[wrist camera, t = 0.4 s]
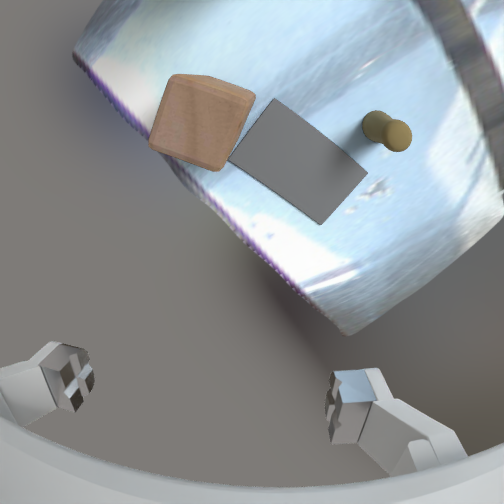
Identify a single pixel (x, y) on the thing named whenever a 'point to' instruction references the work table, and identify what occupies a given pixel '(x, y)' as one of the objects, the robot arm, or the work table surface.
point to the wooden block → (200, 119)
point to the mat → (297, 162)
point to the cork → (387, 131)
